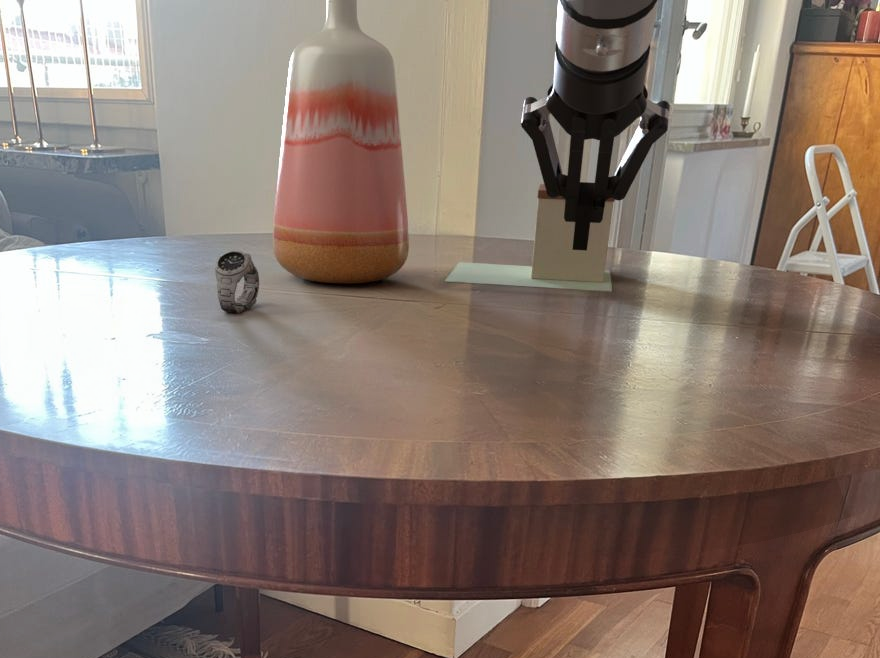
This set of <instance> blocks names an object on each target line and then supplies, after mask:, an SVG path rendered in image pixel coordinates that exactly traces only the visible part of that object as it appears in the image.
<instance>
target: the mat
mask: <svg viewBox="0 0 880 658" xmlns="http://www.w3.org/2000/svg"><path fill="white" fill-rule="evenodd" d="M531 272H532V265H517V264H516V265H515V264H498V263H481V262H480V263H479V262H466V261H465V262H463V261H462V262H461V261H459V262H458V264H457V265H456V266H455V267H454V268H453V270H452V271H451V272H450V274H449V275H448V276H447V277H446V279H445V280H444V281H443V282H444V283H458V284H473V285H490V286H491V285H492V286H506V287H507V286H508V287H509V286H510V287H526V288H542V289H560V290H573V291H574V290H577V291H593V292H606V293H607V292H609V293H612V292H613V287H612V276H611V270H606V269H605V273H604V281H603V282H585V281H567V280H548V279H532V278H531Z"/></svg>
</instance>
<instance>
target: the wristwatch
mask: <svg viewBox="0 0 880 658" xmlns="http://www.w3.org/2000/svg"><path fill="white" fill-rule="evenodd" d="M214 274H215V278H216V290H217V300H218V303H219V307H220V309H221V310H222V311H223V312H225V313H232V314H233V313H236V314H240V313H242V312H245V311H248V310H250V309H252V307H254V305H255V304H257V297H258V294H259V290H260V289H259V288H260V275H259V271H258V269H257V267H256V266H255V264H254V262H253V260H252V255H251V254H250V253H248V252H244V251H241V250H229V251H226V252H224V253H223V254H220V256H218V257H217V259H216V261H215V263H214ZM242 278H243V280H244V281H243V290H242V292H241V294H240V295H239V296H238V297H237V298H236V295H235V294H236V291H237V287H238V284H239V283H240V282H241V280H242Z"/></svg>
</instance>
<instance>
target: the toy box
mask: <svg viewBox="0 0 880 658" xmlns="http://www.w3.org/2000/svg"><path fill="white" fill-rule="evenodd" d="M615 201H616V200H615V199H613V198H609V199H607V200H606V201H605V207H604V213H603V220H602V221H601V222H600V223H590V229H589V238H588V246H587V251H586V250H572V249H573V239H574V229H575V222H566V221H565V219H564V211H565V199H564V198H563V197H562V196H558V197H555V198H551V197H549V196H548V195H547V192H546V188H545V185H544V183H540V184H539V186H538V189H537V206H536V207H537V208H536V217H535V219H536V220H535V228H534V229H535V230H534V241H533V250H532V262H531V266H532V272H531V278H532V279H548V280H567V281H585V282H603V281H604V273H605V270H606V263H607V256H608V249H609V241H610V233H611V225H612V217H613V209H614V202H615Z"/></svg>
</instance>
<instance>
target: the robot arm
mask: <svg viewBox="0 0 880 658" xmlns="http://www.w3.org/2000/svg"><path fill="white" fill-rule="evenodd" d="M658 3H659V0H557V15H556V16H557V17H556V33H555V39H556V41H555V52H554V65H553V67H554V68H553V81H552V83H551V84H550V86H549V87H548V89H547V93H546V94H547V95H546V96H544V97H542V98H540V99H537V98H536V97H534V96H528V97H526V98H525V99H524V101H523V106H522V107H523V108H522V115H521V122H520V127H521V128H522V129H523V130H524V132H525V133H526V134H527V135H528V137H529V138H530V139H531V141H532V145H533V148H534V152H535V156H536V159H537V162H538V166H539V169H540V173H541V177H542V180H543V184H544V185H545V188H546V192H547V195H548V196H549V197H551V198H555V197H558V196H562V197H563V198H564V199H565V211H564V219H565V221H566V222H575V229H574V239H573V249H572V250H586V251H587V246H588V238H589V229H590V223H600V222H601V221H602V220H603V213H604V207H605V201H606V200H607V199H609V198H613V199H615V201H622V200H624V199H625V198H626V196H627V194H628V193H629V190H630V189H631V187H632V184H633V183H634V181H635V179H636V177H637V175H638V173H639V171H640V169H641V167H642V165H643V163H644V161H645V159H646V158H647V156H648V154H649V152H650V150H651V148H652V146H653V144H655V143H656V142H657V141H658V140H659V139H660V138H661V137H662V136H664V135H665V134H666V133H667V131H668V129H669V119H670V110H671V109H670V108H671V105H670V103H669V102H668V101H667V100H661V101H658V102H657V103H655V102H653V101H652V100H650V99H649V98H648V97H649V95H648V94H649V93H648V92H649V91H648V89H647V87H646V85H645V83H646V76H647V70H648V64H649V58H650V52H651V42H652V38H653V34H654V30H655V29H654V28H655V22H656V16H657V9H658ZM551 116H552V117H553V118H554V120H556V122H557V123H558V124H559V126H560V127H561V128H562V129H563V130H564V131H565V133H566V134H567V135H569V136H570V140H569V154H568V165H567V174H563V169H562V166H561V162H560V159H559V157H560V156H559V154H558V153H559V152H558V150H557V146H556V141H555V138H554V134H553V129H552V126H551V125H552V124H551V122H550V120H551ZM638 119H639V122H638V126H637V127H636V130H635V132H634V134H633V136H632V138H631V140H630V142H629V144H628V146H627V148H626V150H625V152H624V154H623V156H622V158H621V160H620V162H619V165H618V167H617V169H616V171H615V172H614V175H612V176H610V170H611V162H612V156H613V149H614V142H615V138H616V137H618V136H619V135H621V134H622V133H623V132H624V131H625V130H626V129H627V128H629V127H630V126H631V125H632V124H633V123H634V122H636V121H637V120H638ZM585 140H596V141H599V144H598V151H597V160H596V166H595V167H596V168H595V177H594V182H588V181H585V182H584V181H581V177H582V168H583V158H584V148H585Z"/></svg>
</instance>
